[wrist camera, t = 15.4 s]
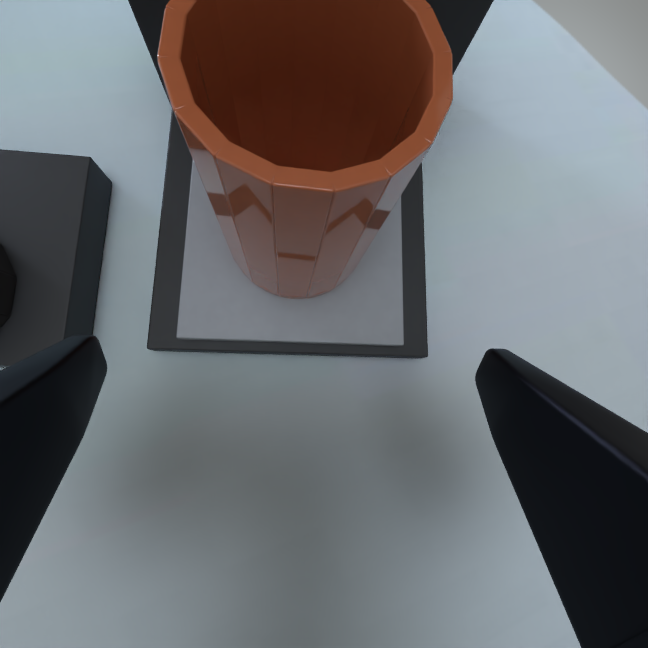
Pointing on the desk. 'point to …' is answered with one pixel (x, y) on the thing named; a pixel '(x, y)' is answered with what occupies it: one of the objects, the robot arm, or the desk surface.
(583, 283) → the desk surface
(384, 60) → the cup
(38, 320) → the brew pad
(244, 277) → the coffee maker
